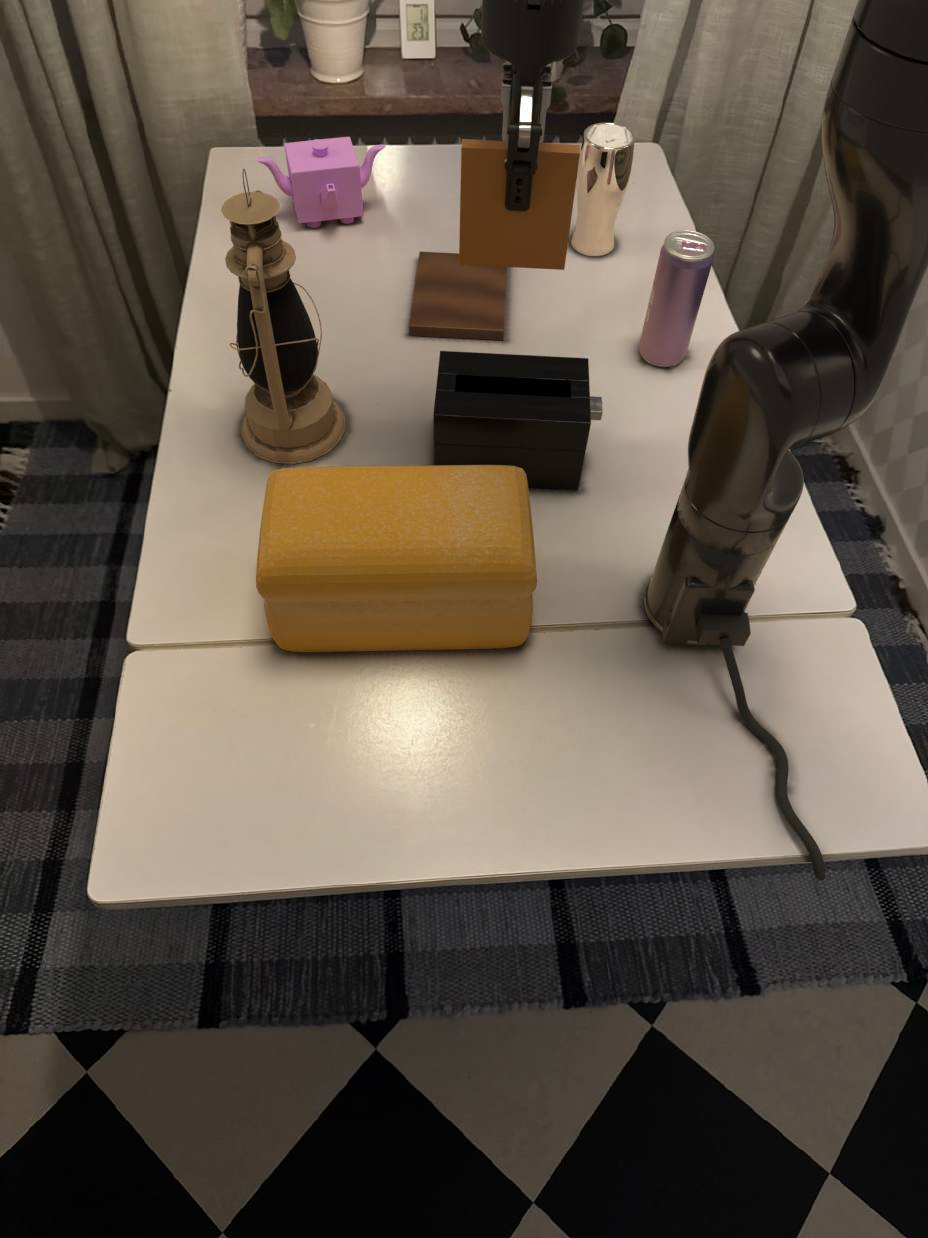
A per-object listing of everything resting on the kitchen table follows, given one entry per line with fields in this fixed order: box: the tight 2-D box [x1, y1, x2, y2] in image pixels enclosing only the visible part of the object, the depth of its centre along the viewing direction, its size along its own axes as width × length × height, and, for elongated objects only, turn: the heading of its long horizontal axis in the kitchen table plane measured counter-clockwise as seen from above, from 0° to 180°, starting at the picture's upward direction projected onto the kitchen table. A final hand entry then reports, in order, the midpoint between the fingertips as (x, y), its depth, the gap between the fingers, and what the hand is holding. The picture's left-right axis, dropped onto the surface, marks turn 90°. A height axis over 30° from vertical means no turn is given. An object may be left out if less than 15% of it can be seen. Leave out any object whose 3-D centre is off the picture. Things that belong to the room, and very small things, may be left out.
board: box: [408, 251, 508, 341], centre depth 112 cm, size 16×12×2 cm
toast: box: [458, 138, 581, 271], centre depth 77 cm, size 1×10×11 cm, turn 87°
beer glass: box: [570, 122, 636, 257], centre depth 114 cm, size 7×7×15 cm
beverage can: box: [638, 229, 716, 368], centre depth 101 cm, size 6×6×15 cm
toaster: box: [432, 350, 604, 491], centre depth 93 cm, size 10×18×10 cm, turn 87°
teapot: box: [254, 136, 387, 229], centre depth 119 cm, size 18×13×10 cm
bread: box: [255, 465, 538, 653], centre depth 80 cm, size 24×13×15 cm, turn 92°
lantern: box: [220, 168, 346, 465], centre depth 87 cm, size 14×12×30 cm
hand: (517, 201), depth 76 cm, fingers closed on toast, 1 cm apart
